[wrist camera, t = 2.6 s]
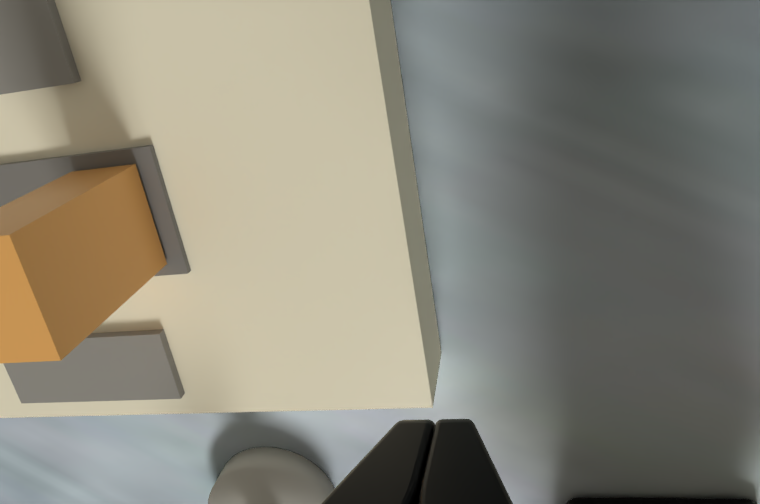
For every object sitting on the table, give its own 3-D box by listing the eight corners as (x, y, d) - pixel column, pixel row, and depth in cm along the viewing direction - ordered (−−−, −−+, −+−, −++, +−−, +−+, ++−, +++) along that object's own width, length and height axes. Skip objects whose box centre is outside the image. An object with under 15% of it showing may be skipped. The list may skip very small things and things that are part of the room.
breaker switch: (135, 163, 18) (9, 234, 13) (167, 263, 19) (60, 360, 14) (71, 171, 18) (-72, 242, 14) (106, 268, 19) (-16, 364, 15)
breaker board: (375, -105, 17) (347, -118, 14) (441, 352, 22) (431, 413, 19) (-262, 25, 22) (-383, 36, 19) (-82, 375, 27) (-154, 426, 24)
